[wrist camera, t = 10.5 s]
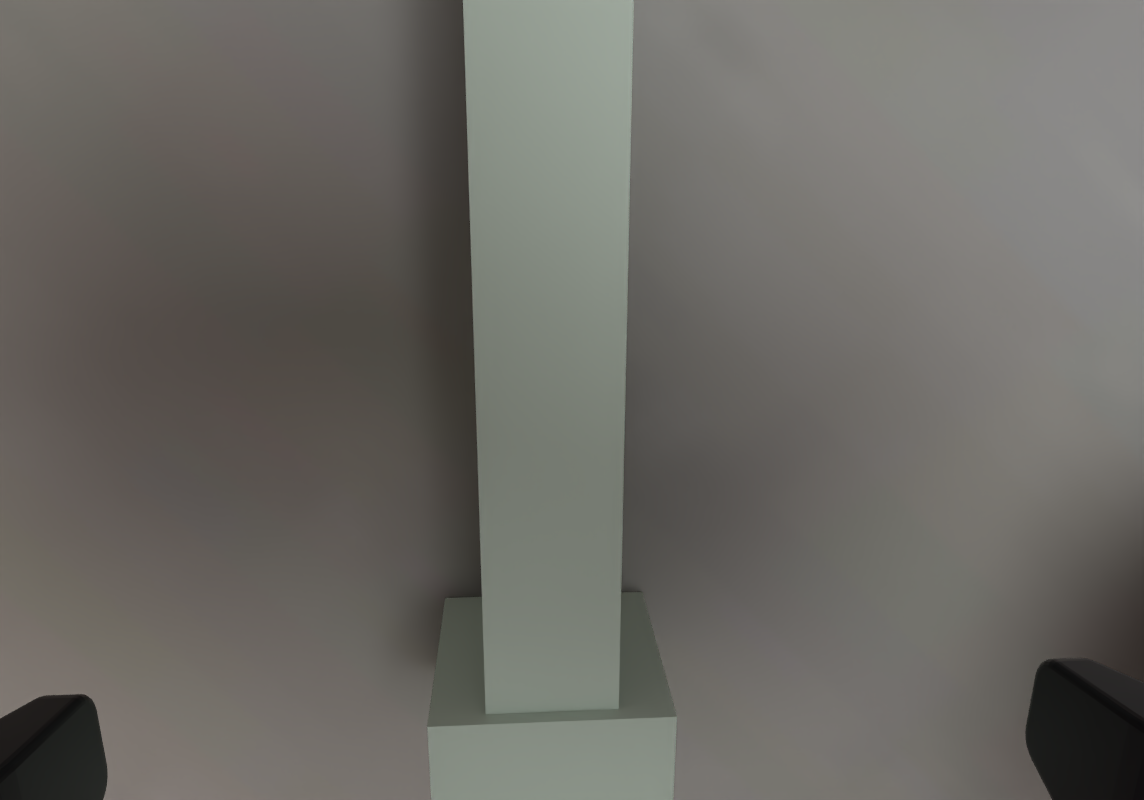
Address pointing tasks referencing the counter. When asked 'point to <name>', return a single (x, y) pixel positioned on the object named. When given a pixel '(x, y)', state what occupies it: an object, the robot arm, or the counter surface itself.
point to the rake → (550, 428)
